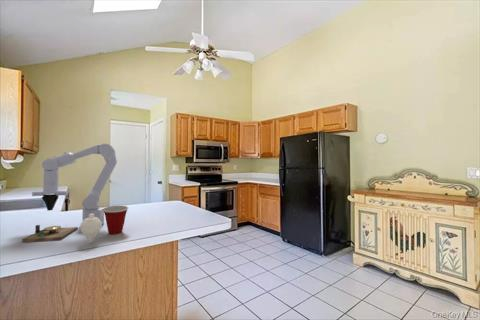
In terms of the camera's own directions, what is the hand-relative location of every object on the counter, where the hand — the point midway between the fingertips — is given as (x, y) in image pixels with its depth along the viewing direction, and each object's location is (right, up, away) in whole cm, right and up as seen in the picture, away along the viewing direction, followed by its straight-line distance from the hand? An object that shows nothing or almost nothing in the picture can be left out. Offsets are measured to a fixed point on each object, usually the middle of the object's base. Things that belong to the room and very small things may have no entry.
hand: (50, 210), depth 115 cm
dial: (+8, -6, -11) cm, 16 cm away
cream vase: (+32, -10, -19) cm, 39 cm away
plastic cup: (+35, -10, -5) cm, 37 cm away
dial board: (+9, -9, -10) cm, 16 cm away
